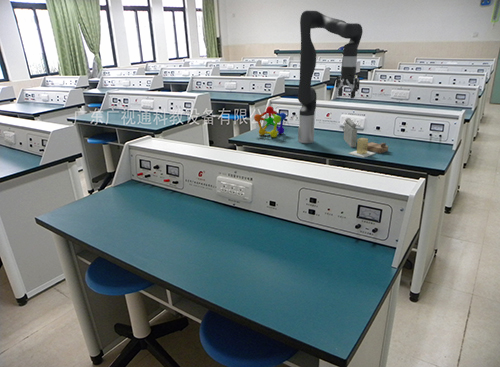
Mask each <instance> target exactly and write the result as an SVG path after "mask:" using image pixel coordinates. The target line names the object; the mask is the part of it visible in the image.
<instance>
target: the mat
mask: <svg viewBox="0 0 500 367" xmlns="http://www.w3.org/2000/svg"><path fill="white" fill-rule="evenodd" d="M348 154H349V155H352V156H355V157H359V158H363V159H364V158H367V157H371V156H373V155H376V153H375V152H371V151H367V153H365V154H359V153H357V149H356V150H354V151H350V152H348Z"/></svg>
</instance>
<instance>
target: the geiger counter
mask: <svg viewBox="0 0 500 367" xmlns="http://www.w3.org/2000/svg"><path fill="white" fill-rule="evenodd" d="M344 121H345V122H344V125H342V129H343V130H342V132H343V140H344V141H345V143H346V144H347V145H348V147H349V148H357V140H358V129H357V124H356V123H355V122H354V121H353V120H351V118H349V117H346V118H345V119H344Z"/></svg>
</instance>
